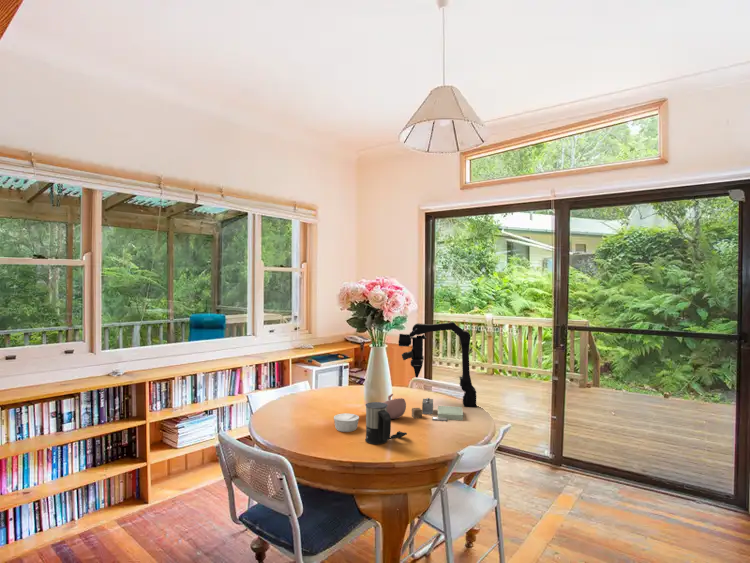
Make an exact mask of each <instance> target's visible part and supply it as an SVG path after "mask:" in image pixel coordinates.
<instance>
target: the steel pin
mask: <svg viewBox="0 0 750 563" xmlns="http://www.w3.org/2000/svg"><path fill="white" fill-rule="evenodd" d="M431 420H432V421H437V422H439V421H440V422H448V420H447V418H441V417H438V416H432V419H431Z"/></svg>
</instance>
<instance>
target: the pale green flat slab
mask: <svg viewBox="0 0 750 563" xmlns="http://www.w3.org/2000/svg"><path fill="white" fill-rule="evenodd" d="M437 417H441V418H447V421H450V420H451V421H452V420H453V421H464V412H463V407H462V406H451V405H450V406H449V405H447V406H446V405H438V406H437Z"/></svg>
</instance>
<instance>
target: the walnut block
mask: <svg viewBox="0 0 750 563" xmlns="http://www.w3.org/2000/svg"><path fill="white" fill-rule="evenodd" d="M411 418H413V420H414V419H416V418H417V419H423V414H422V408H420V407H412V408H411Z"/></svg>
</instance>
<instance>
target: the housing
mask: <svg viewBox="0 0 750 563" xmlns="http://www.w3.org/2000/svg"><path fill="white" fill-rule="evenodd" d="M421 404H422V406H421V407H422V408H421V410H422V415H431V414H433V415H434V398H430V397H426V398H422V403H421Z"/></svg>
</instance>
